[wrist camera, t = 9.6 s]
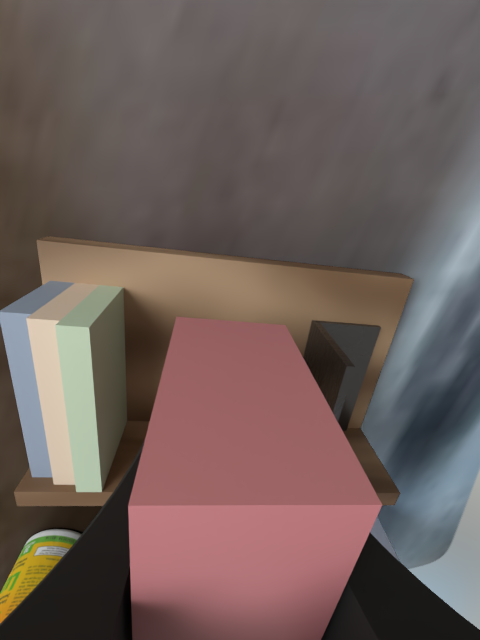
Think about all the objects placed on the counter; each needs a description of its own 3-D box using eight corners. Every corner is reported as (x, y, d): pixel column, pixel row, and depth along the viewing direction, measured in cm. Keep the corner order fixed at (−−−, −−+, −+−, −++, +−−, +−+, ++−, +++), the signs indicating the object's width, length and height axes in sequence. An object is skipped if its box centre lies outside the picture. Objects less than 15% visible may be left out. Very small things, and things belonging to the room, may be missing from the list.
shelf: (349, 427, 23) (394, 505, 18) (70, 417, 21) (17, 505, 15) (401, 273, 18) (486, 312, 13) (48, 236, 16) (-42, 264, 10)
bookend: (344, 427, 22) (380, 493, 17) (286, 425, 21) (308, 492, 16) (378, 325, 18) (434, 371, 14) (311, 320, 18) (346, 366, 13)
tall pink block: (252, 491, 15) (283, 721, 8) (168, 491, 14) (135, 737, 8) (285, 325, 11) (382, 505, 5) (176, 316, 11) (128, 505, 4)
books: (127, 420, 20) (102, 492, 15) (67, 418, 19) (23, 491, 15) (123, 287, 16) (88, 327, 11) (50, 280, 16) (-16, 320, 11)
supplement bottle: (30, 521, 24) (-73, 715, 15) (100, 531, 25) (41, 716, 17) (22, 561, 26) (-74, 754, 17) (87, 568, 27) (28, 753, 18)
